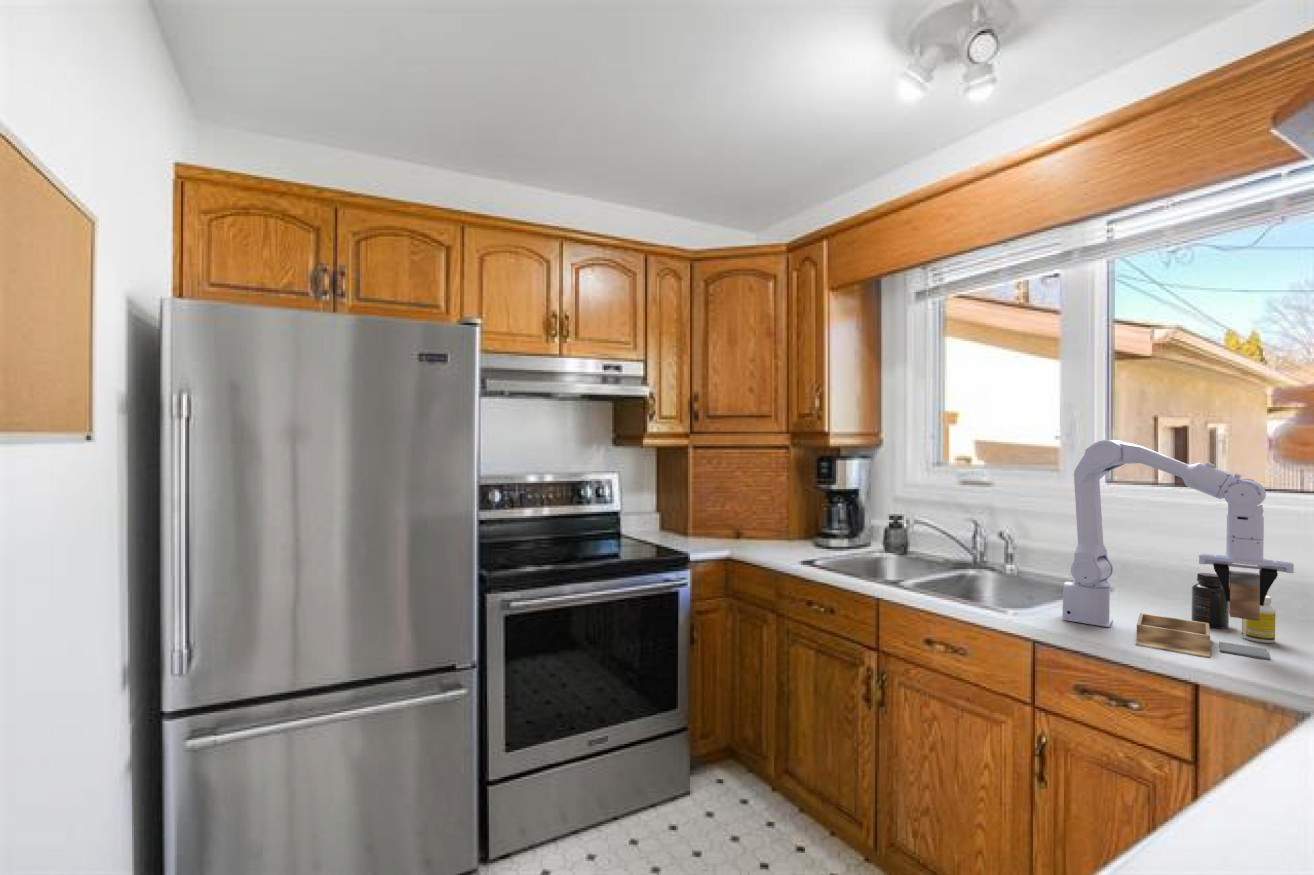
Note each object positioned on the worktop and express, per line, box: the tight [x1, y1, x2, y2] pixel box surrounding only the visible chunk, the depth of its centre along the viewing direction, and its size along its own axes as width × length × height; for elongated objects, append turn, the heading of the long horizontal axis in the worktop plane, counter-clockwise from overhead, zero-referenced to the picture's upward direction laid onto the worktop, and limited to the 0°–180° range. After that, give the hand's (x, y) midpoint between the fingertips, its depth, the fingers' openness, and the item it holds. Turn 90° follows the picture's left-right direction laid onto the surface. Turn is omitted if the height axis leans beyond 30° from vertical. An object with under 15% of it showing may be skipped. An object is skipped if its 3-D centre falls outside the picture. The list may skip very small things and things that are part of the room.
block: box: [1229, 569, 1260, 621], centre depth 134 cm, size 4×4×9 cm
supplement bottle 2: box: [1241, 595, 1276, 644], centre depth 142 cm, size 5×5×10 cm
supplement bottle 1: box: [1191, 572, 1230, 629], centre depth 154 cm, size 7×7×12 cm
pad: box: [1218, 641, 1271, 661], centre depth 134 cm, size 8×8×1 cm
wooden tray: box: [1134, 612, 1211, 658], centre depth 142 cm, size 12×20×4 cm, turn 140°
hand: (1244, 602), depth 134 cm, fingers closed on block, 4 cm apart
